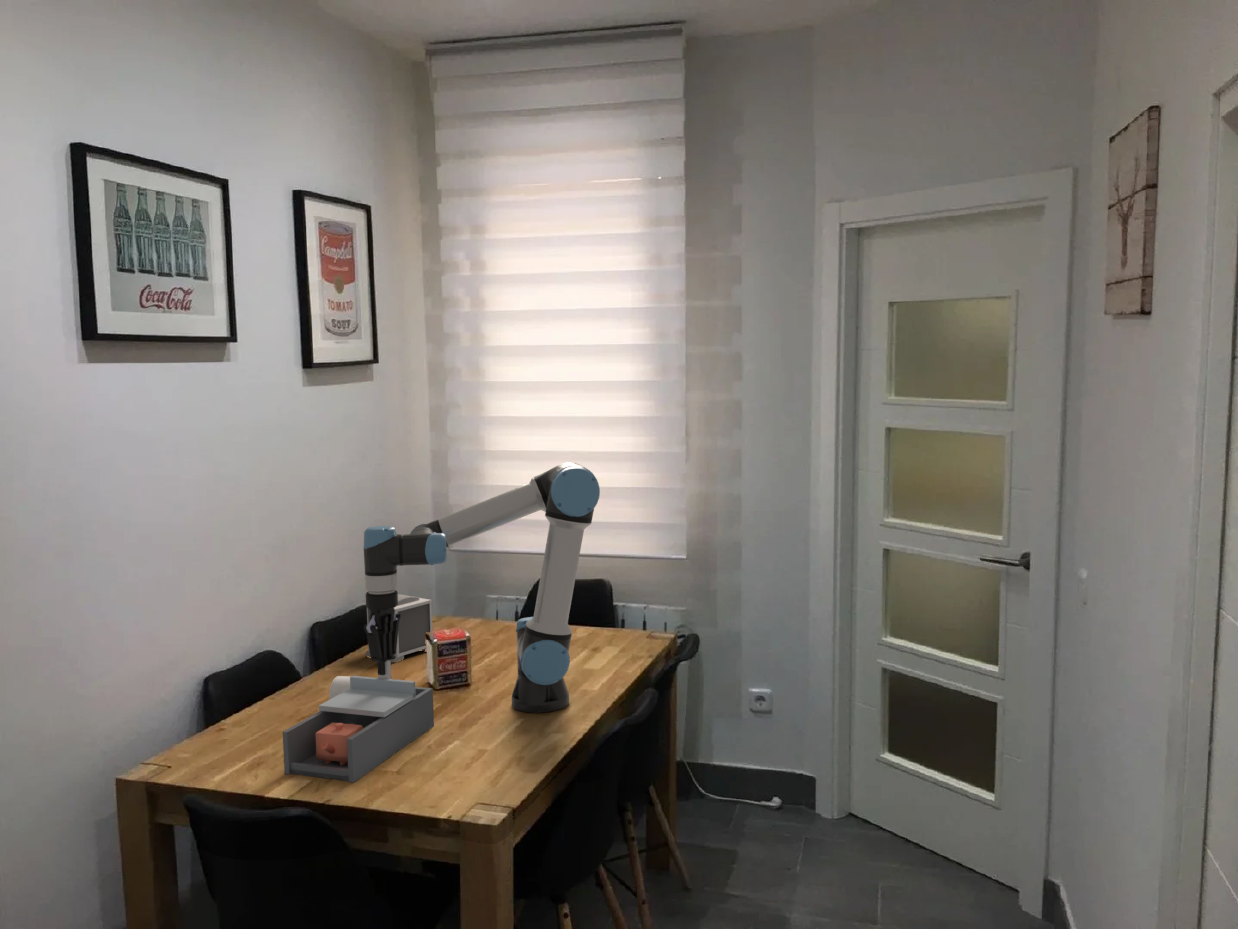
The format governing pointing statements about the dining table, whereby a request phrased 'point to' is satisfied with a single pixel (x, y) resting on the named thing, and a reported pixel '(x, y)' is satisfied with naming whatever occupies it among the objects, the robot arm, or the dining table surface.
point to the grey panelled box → (410, 625)
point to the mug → (339, 686)
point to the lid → (372, 697)
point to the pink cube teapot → (335, 742)
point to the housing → (357, 739)
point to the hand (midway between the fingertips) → (384, 686)
